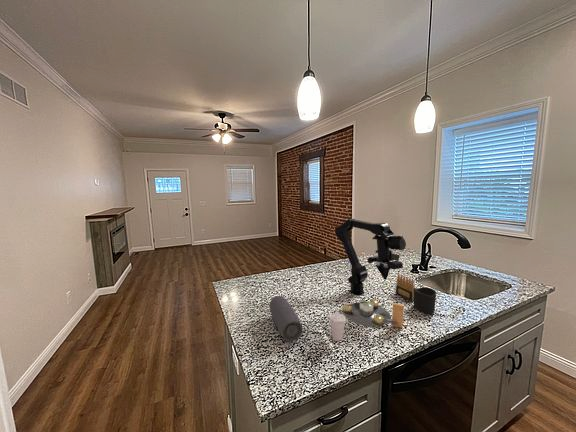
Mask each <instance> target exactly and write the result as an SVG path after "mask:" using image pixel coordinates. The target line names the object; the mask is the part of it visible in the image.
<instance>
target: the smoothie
mask: <svg viewBox="0 0 576 432" xmlns="http://www.w3.org/2000/svg"><path fill="white" fill-rule="evenodd" d="M329 321H330V330H331V338H332V339H333V340H334V341H336V342H339V341H342V340H343V337H344V333H345V325H346V322H347V318H346V317H345V315H344V313H340V312H338V306H337V305H335V313H334V312H333V313H331V314H330V315H329Z"/></svg>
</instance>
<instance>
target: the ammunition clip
mask: <svg viewBox="0 0 576 432" xmlns="http://www.w3.org/2000/svg"><path fill="white" fill-rule="evenodd" d="M414 288H415V280H414V279H413V278H411V277H409V276H405V275H404V274H400V272H398V273H397V278H396V285H395V294H396V295H397V296H399V297H402V298H403V299H406V300H407V301H409V302H414Z"/></svg>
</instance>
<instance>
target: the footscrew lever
mask: <svg viewBox="0 0 576 432" xmlns="http://www.w3.org/2000/svg"><path fill="white" fill-rule="evenodd" d="M404 310H405V306H404V304H401V303H396V302H392V316H391V319H388V318H383V317H382V316H381V315H374V317H373V322H374V324H376V325H382V326H384V325H383V322H387V324H392V325H391V326H392V327H395V328H400V329H403V328H404Z"/></svg>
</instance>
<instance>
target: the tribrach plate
mask: <svg viewBox="0 0 576 432" xmlns="http://www.w3.org/2000/svg"><path fill="white" fill-rule="evenodd" d="M342 314H343V315H344V316H345V317H346V319H348V320H349V321H351V322H353V323H355V324H357V325H360V326H365V327H381V326H382V327H383V326H385V325H386V324H388V323H387V322H383V325H376V324H374V322H373V317H374V315H381V316H382V317H383V318H388V319H392V316H391V313H390V311H387V309H385V308H384V307H382V306H379V301H378V300H376V299H370V300H369V301H366V300H363V301H360V302H352V303H349V304H348V303H345V304H343V305H342Z"/></svg>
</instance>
